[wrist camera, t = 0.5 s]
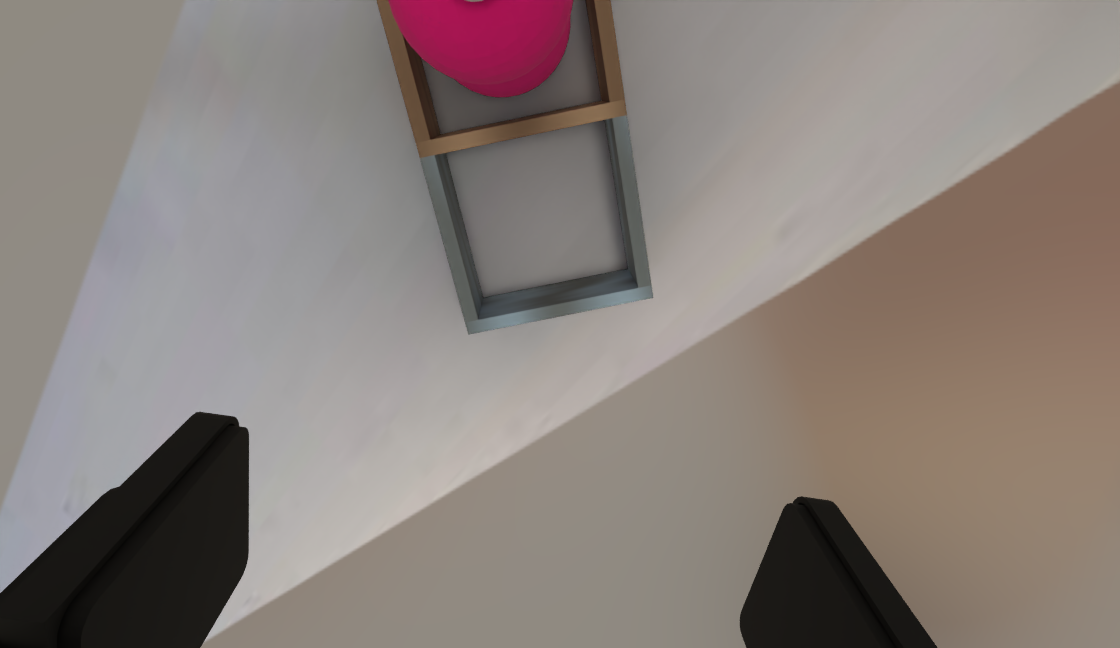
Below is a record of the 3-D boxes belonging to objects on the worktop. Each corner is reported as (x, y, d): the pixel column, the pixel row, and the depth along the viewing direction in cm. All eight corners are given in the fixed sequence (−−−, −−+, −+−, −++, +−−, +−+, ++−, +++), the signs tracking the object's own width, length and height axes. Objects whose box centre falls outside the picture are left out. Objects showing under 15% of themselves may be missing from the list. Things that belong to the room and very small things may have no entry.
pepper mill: (456, 107, 35) (375, 132, 17) (422, -31, 33) (280, -183, 14) (576, 81, 35) (629, 77, 17) (551, -60, 32) (581, -254, 14)
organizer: (583, -113, 32) (590, -140, 28) (641, 277, 40) (653, 297, 36) (373, -68, 32) (352, -87, 28) (473, 311, 40) (468, 334, 36)
